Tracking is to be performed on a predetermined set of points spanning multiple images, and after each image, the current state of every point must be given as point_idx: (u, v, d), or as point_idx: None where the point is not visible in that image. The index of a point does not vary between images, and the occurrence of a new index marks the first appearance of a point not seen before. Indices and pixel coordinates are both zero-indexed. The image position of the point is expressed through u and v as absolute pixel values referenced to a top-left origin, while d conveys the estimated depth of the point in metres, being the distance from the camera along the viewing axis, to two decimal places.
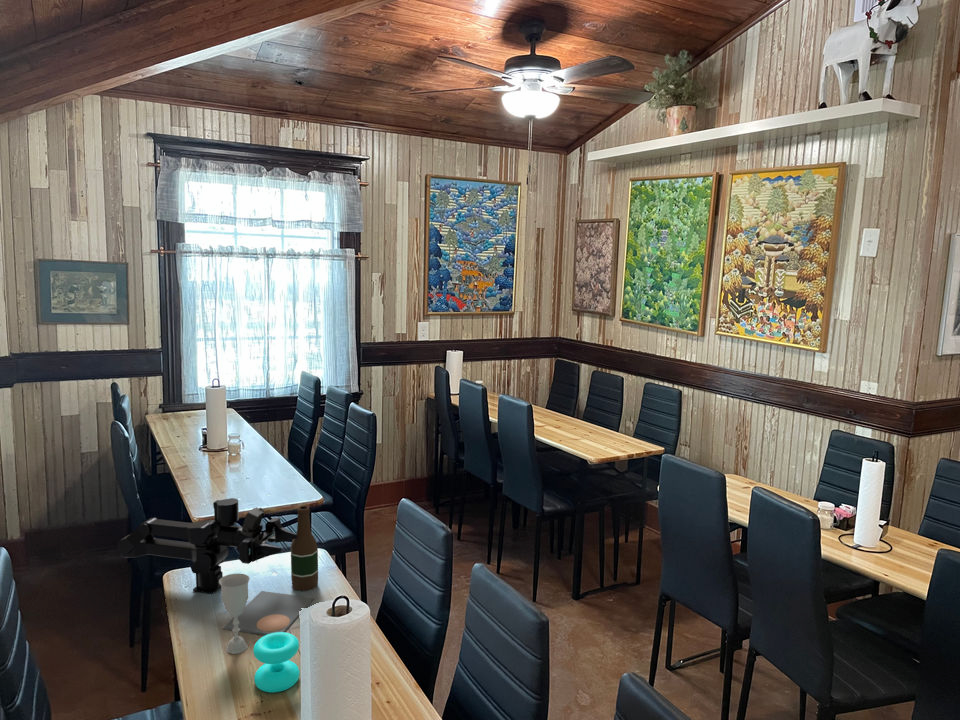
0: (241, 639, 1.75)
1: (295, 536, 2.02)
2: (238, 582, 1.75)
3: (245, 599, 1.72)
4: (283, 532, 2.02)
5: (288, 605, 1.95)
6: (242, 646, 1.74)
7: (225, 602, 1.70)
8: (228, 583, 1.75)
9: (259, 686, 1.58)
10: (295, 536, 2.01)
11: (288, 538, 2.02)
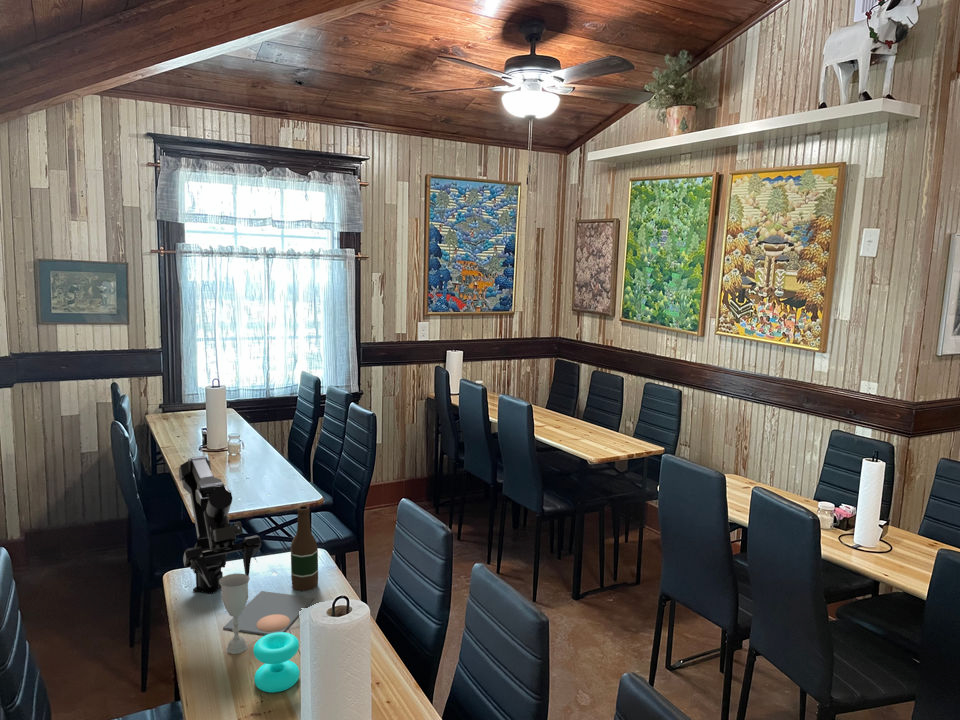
0: (241, 639, 1.75)
1: None
2: (238, 582, 1.75)
3: (245, 599, 1.72)
4: (245, 561, 1.84)
5: (288, 605, 1.95)
6: (242, 646, 1.74)
7: (225, 602, 1.70)
8: (228, 583, 1.75)
9: (259, 686, 1.58)
10: None
11: None
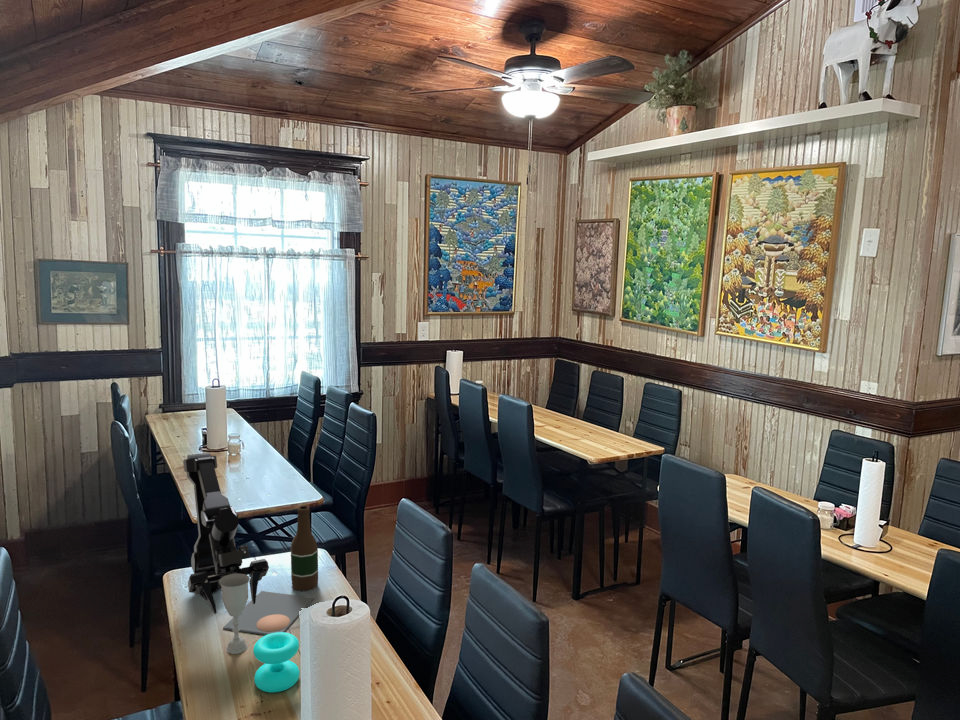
0: (241, 639, 1.75)
1: (254, 602, 1.76)
2: (238, 582, 1.75)
3: (245, 599, 1.72)
4: (252, 586, 1.78)
5: (288, 605, 1.95)
6: (242, 646, 1.74)
7: (225, 602, 1.70)
8: (228, 583, 1.75)
9: (259, 686, 1.58)
10: (253, 602, 1.76)
11: (251, 595, 1.78)
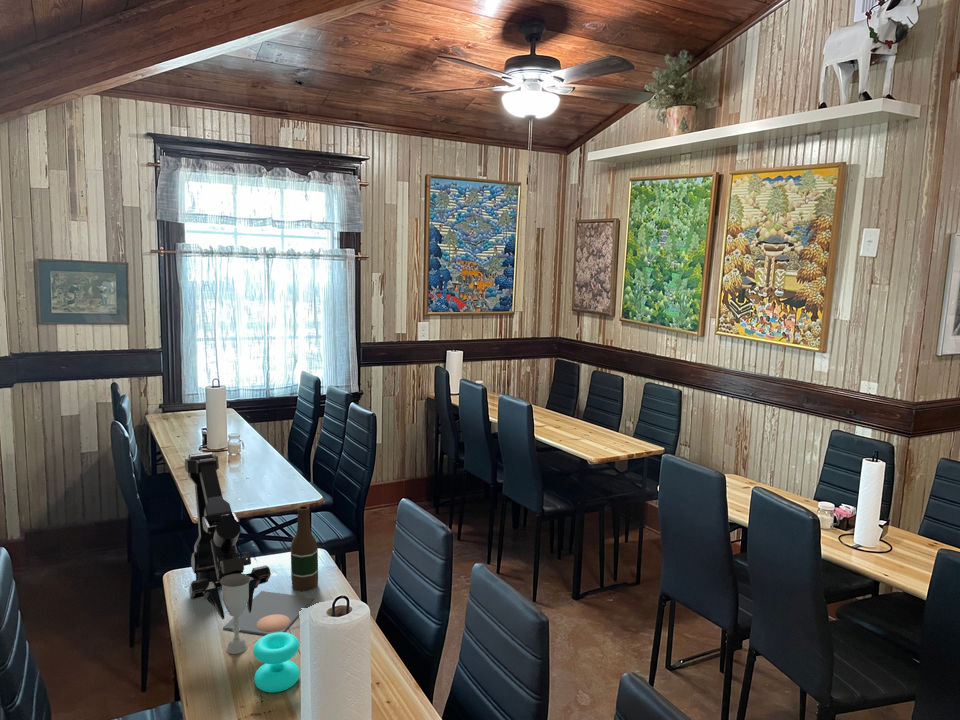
0: (241, 639, 1.75)
1: (249, 611, 1.74)
2: (238, 582, 1.75)
3: (246, 599, 1.72)
4: None
5: (288, 605, 1.95)
6: (242, 646, 1.74)
7: (226, 602, 1.70)
8: (229, 583, 1.74)
9: (259, 686, 1.58)
10: (249, 611, 1.74)
11: (247, 603, 1.76)
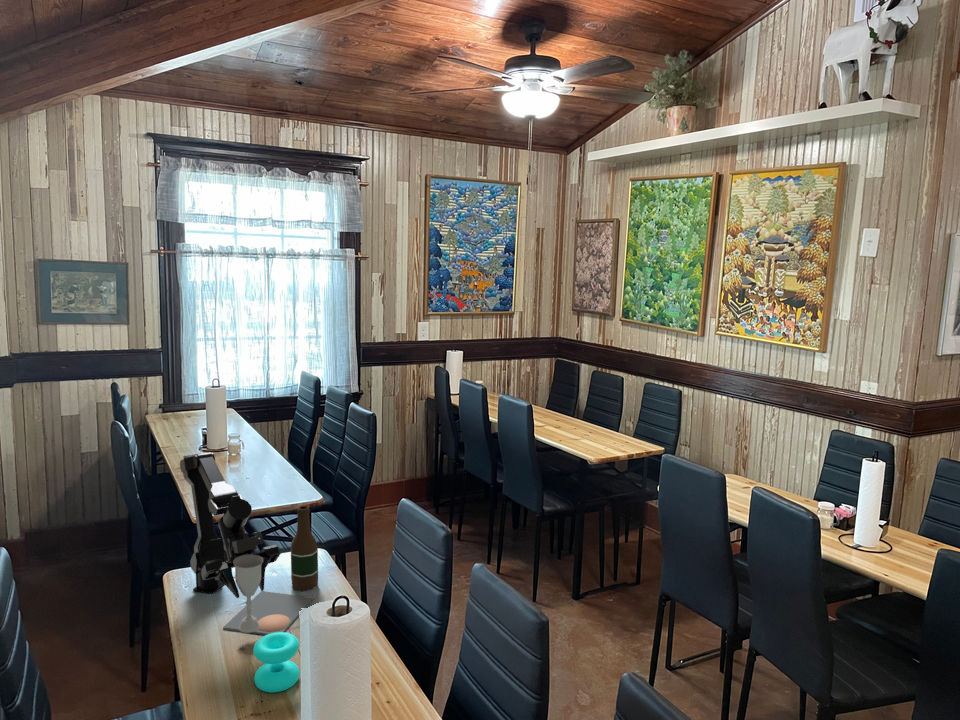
0: (254, 618, 1.78)
1: (262, 589, 1.77)
2: (250, 563, 1.78)
3: (259, 579, 1.75)
4: None
5: (288, 605, 1.95)
6: (255, 625, 1.77)
7: (240, 583, 1.73)
8: (241, 564, 1.77)
9: (259, 686, 1.58)
10: (261, 589, 1.77)
11: None
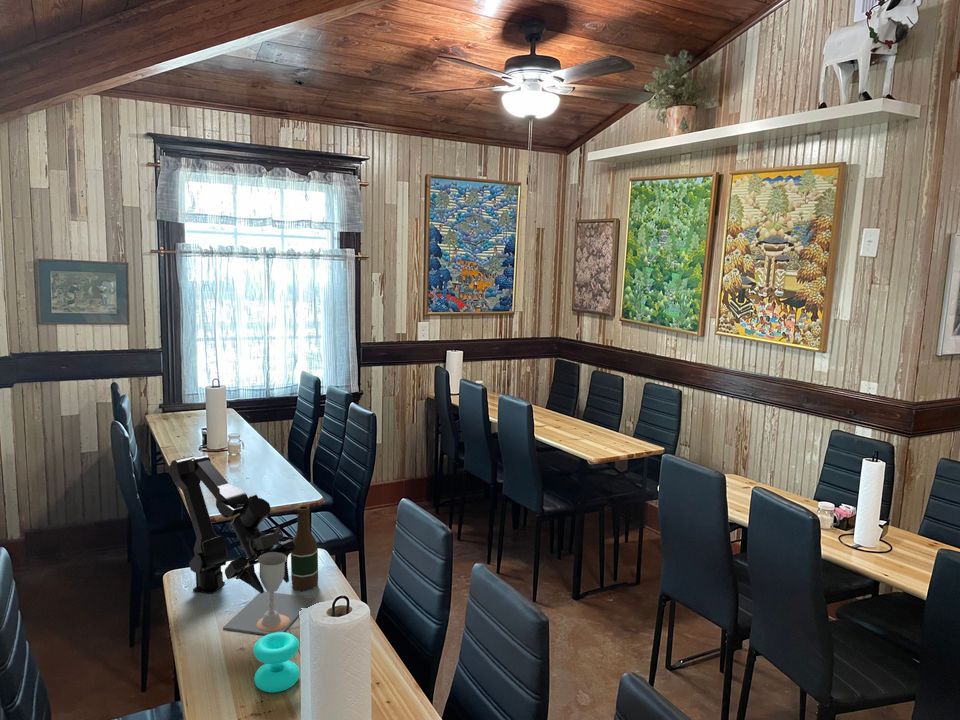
0: (276, 612, 1.86)
1: (287, 581, 1.86)
2: (270, 560, 1.85)
3: (283, 575, 1.83)
4: None
5: (288, 605, 1.95)
6: (278, 618, 1.86)
7: (266, 580, 1.81)
8: (263, 562, 1.84)
9: (259, 686, 1.58)
10: (287, 581, 1.86)
11: None
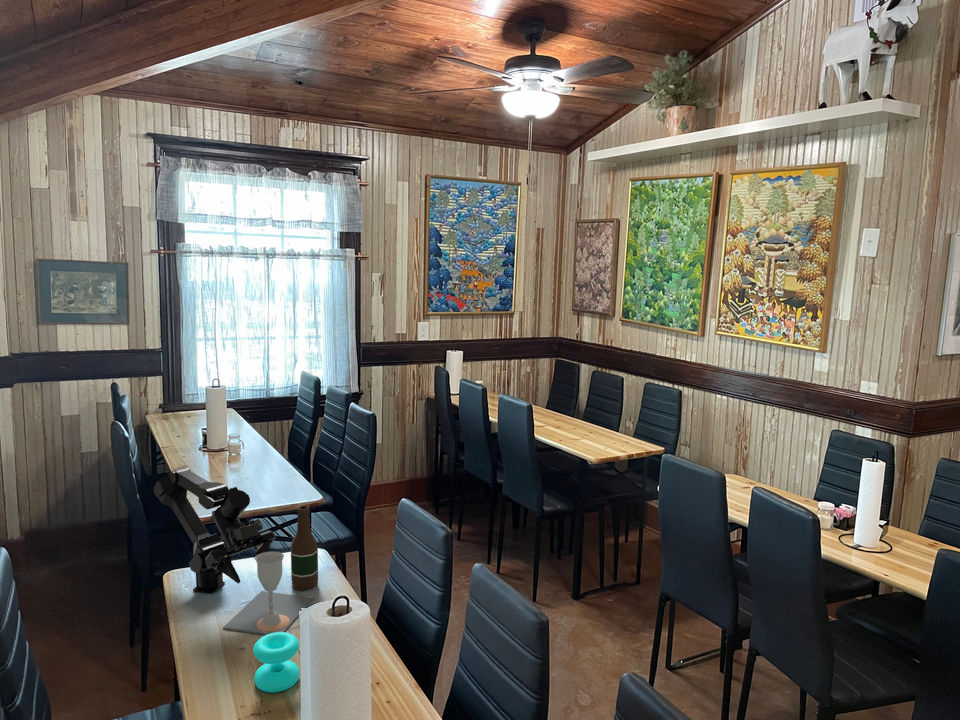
0: (275, 612, 1.87)
1: None
2: (268, 560, 1.87)
3: (281, 573, 1.84)
4: None
5: (288, 605, 1.95)
6: (278, 618, 1.86)
7: (264, 578, 1.81)
8: (260, 561, 1.85)
9: (259, 686, 1.58)
10: None
11: None
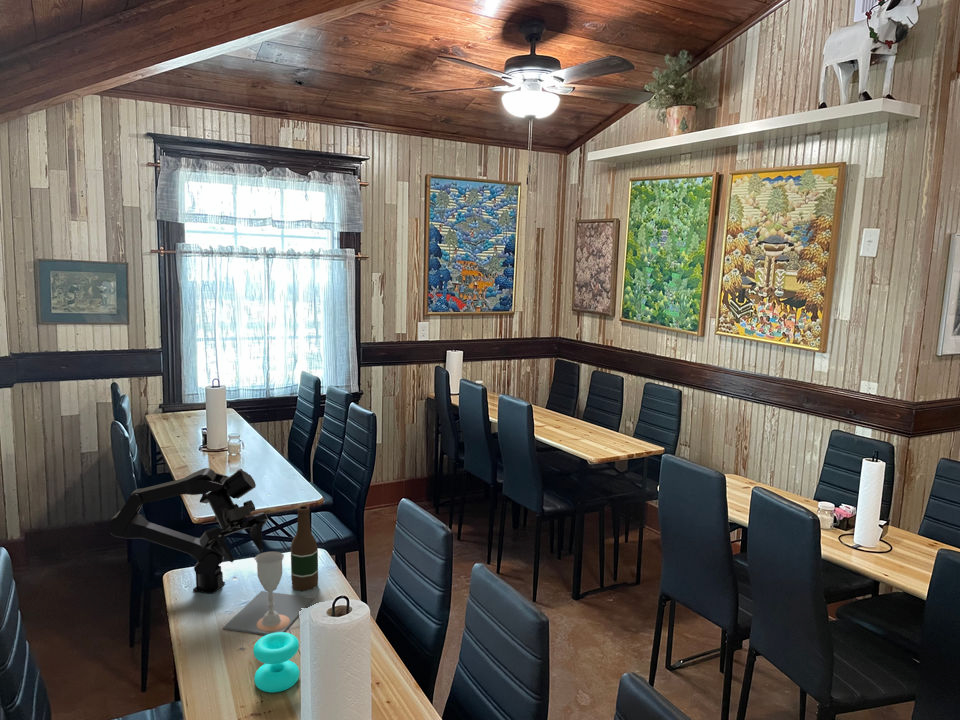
0: (275, 612, 1.87)
1: (261, 549, 1.99)
2: (268, 560, 1.86)
3: (281, 573, 1.84)
4: (257, 536, 2.00)
5: (288, 605, 1.95)
6: (278, 618, 1.86)
7: (264, 578, 1.81)
8: (260, 561, 1.85)
9: (259, 686, 1.58)
10: (261, 550, 1.99)
11: (256, 544, 2.00)
